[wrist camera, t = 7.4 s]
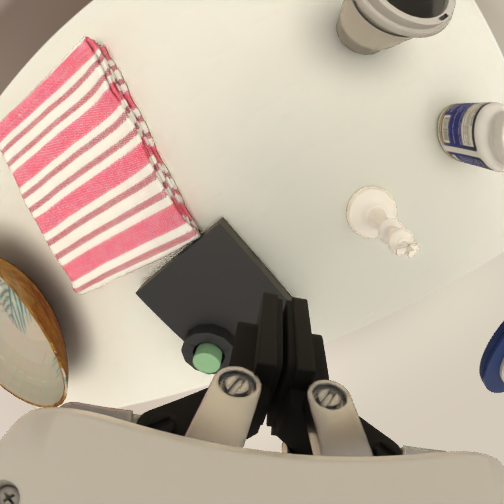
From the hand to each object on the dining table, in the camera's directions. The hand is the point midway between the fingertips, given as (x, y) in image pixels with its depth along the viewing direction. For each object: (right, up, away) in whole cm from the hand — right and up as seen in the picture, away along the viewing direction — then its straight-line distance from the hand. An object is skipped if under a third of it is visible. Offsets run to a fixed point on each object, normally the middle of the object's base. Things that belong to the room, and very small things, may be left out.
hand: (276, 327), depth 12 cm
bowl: (-34, -5, +25) cm, 42 cm away
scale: (-4, -2, +20) cm, 21 cm away
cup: (+9, +22, +10) cm, 26 cm away
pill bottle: (+19, +15, +12) cm, 27 cm away
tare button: (-5, -8, +20) cm, 22 cm away
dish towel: (-18, +11, +16) cm, 27 cm away
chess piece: (+10, +7, +16) cm, 20 cm away
